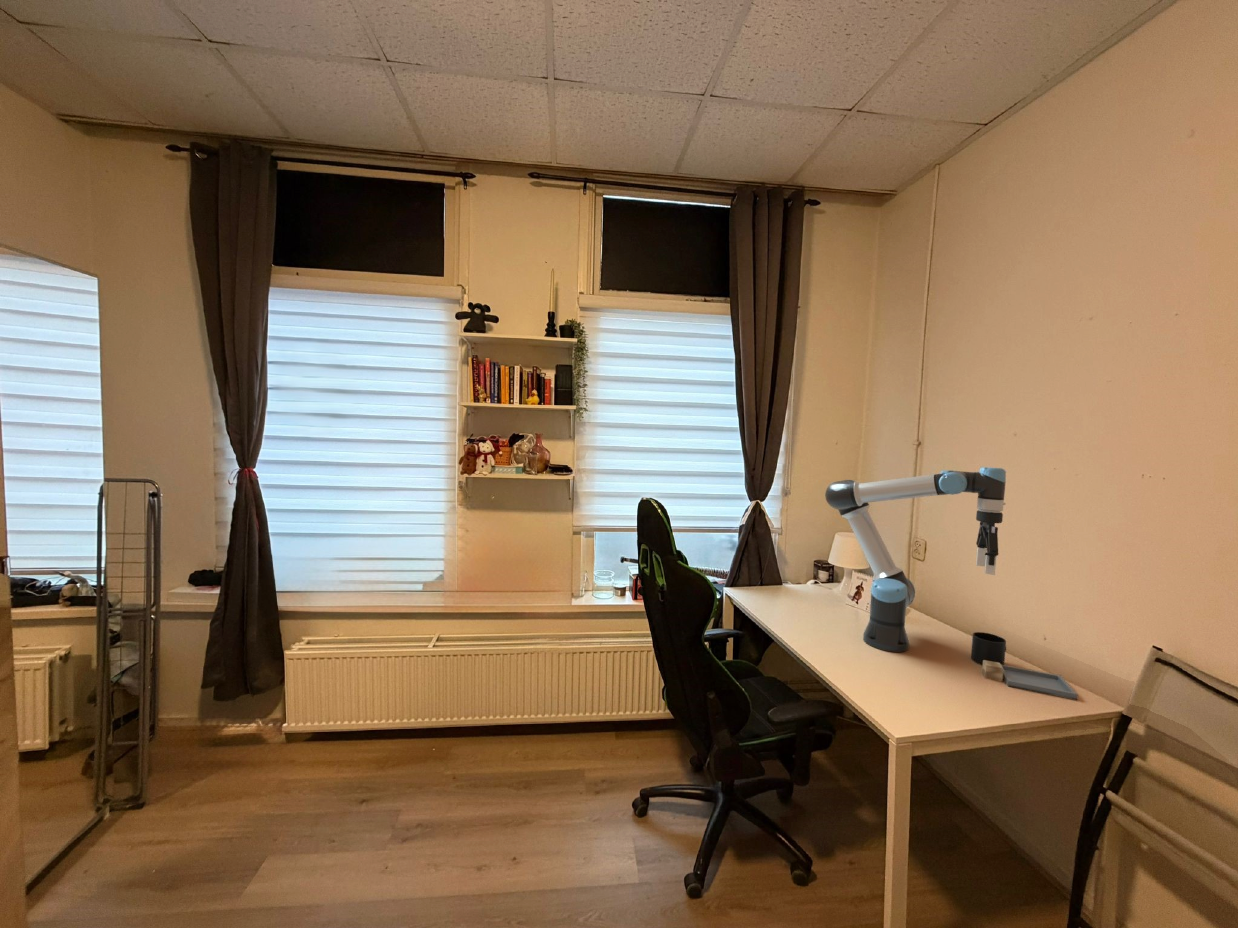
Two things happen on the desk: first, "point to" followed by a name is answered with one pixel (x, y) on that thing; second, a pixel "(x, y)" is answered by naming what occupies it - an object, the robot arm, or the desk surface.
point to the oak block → (992, 670)
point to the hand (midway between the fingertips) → (985, 569)
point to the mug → (988, 648)
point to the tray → (1037, 682)
